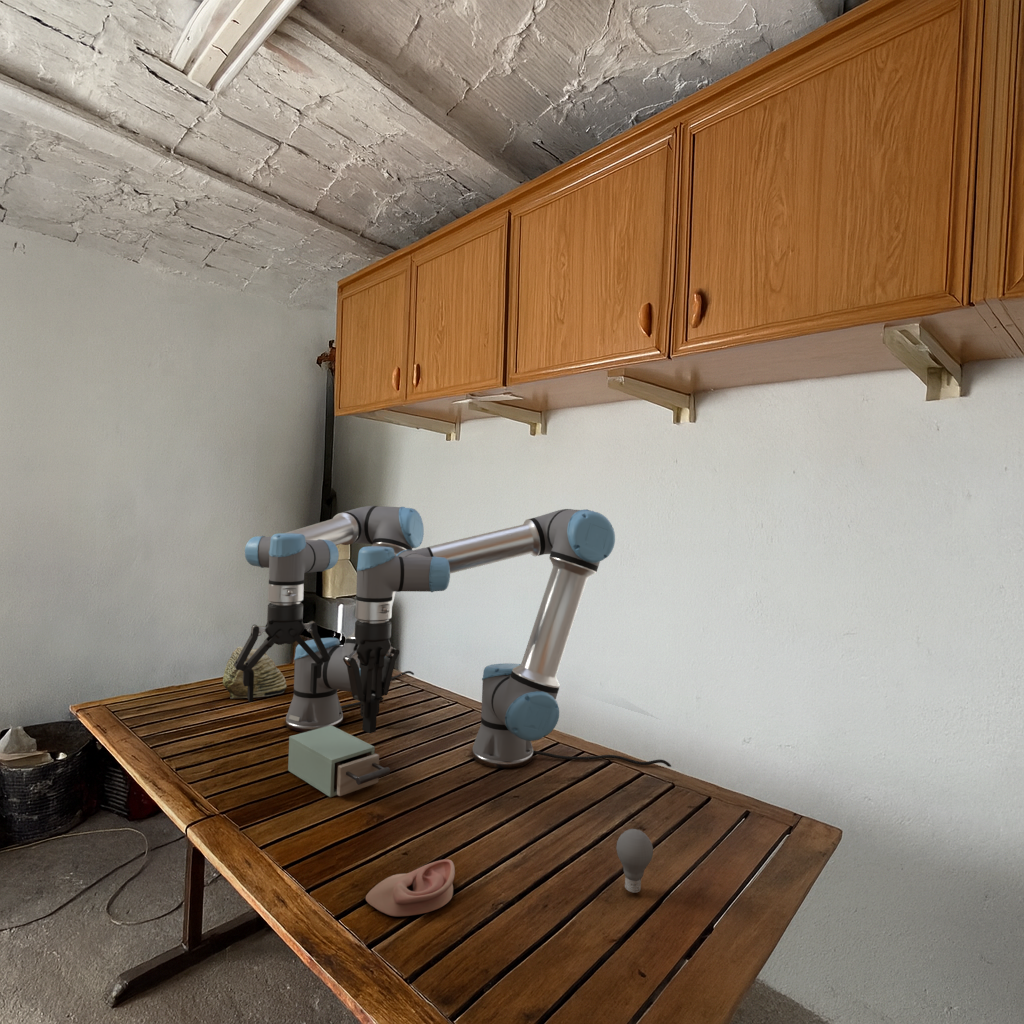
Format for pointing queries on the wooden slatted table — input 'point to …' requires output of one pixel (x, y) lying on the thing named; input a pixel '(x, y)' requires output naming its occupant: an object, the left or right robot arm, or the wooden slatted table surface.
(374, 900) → the anatomical model
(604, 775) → the wooden slatted table surface
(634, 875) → the light bulb
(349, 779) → the drawer
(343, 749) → the cabinet
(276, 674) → the fossil
